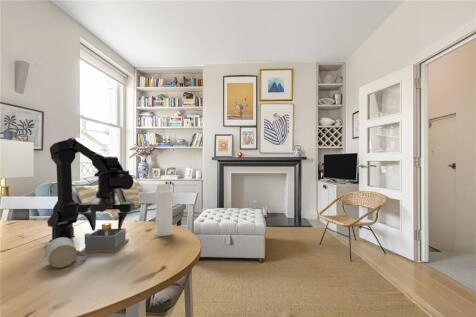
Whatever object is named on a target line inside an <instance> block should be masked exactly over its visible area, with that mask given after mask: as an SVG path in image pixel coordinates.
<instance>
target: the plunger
mask: <svg viewBox="0 0 476 317" xmlns="http://www.w3.org/2000/svg"><path fill="white" fill-rule="evenodd" d="M101 229H102V231H105V236H108V230H111V229H112V223H110V222H108V223H107V222H106V223H102V224H101Z"/></svg>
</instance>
